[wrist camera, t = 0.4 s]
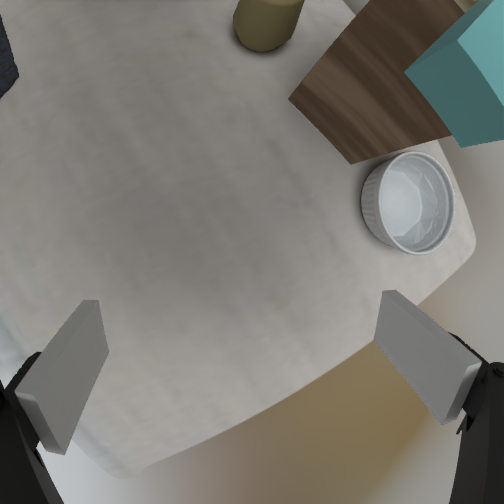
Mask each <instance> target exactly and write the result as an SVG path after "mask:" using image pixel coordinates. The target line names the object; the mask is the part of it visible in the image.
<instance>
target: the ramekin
mask: <svg viewBox="0 0 504 504" xmlns="http://www.w3.org/2000/svg"><path fill="white" fill-rule="evenodd" d="M361 206H362V213H363V217H364V220H365V222H366V224H367V226H368V227H369V229H370V231H371V232H372V233H373V235H374V236H376V237H377V238H378V239H379V240H381V241H382V242H384V243H386V244H388V245H390V246H392V247H395V248H396V249H398V250H400V251H402V252H404V253H407V254H412V255H425V254H428V253H431V252H433V251H435V250H436V249H438V248H439V247H440V246H441V245H442V244H443V243H444V242H445V240H446V239H447V237H448V235H449V234H450V231H451V229H452V226H453V223H454V218H455V211H456V201H455V193H454V189H453V185H452V182H451V180H450V177H449V175H448V173H447V172H446V170H445V169H444V167H443V166H442V165H441V164H440V163H439V162H438V161H437V160H436V159H435V158H434V157H432V156H431V155H429V154H427V153H424V152H420V151H408V152H403V153H400V154H397V155H395V156H394V157H392V158H391V159H390V160H388V161H387V162H385V163H383V164H381V165H380V166H378V167H377V168H376V169H374V170H373V171H372V172H371V173H370V175H369V177H368V178H367V180H366V182H365V184H364V187H363V190H362V197H361Z"/></svg>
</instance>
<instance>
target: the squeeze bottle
mask: <svg viewBox="0 0 504 504" xmlns="http://www.w3.org/2000/svg"><path fill="white" fill-rule="evenodd" d="M303 3H304V0H239V3H238V5H237V8H236V10H235V13H234V15H233V26H234V28H235V31H236V33H237V35H238V37H239V39H240V41H241V43H242V44H243V45H244V46H246V47H247V48H249V49H251V50H254V51H259V52H266V51H270V50H273V49H274V48H276V47H278V46H280V45H282V44H283V43H285V42H286V41H288V40H289V39H290V38H291V36H292V34H293V32H294V30H295V27H296V24H297V21H298V18H299V15H300V12H301V9H302V6H303Z"/></svg>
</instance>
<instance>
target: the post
mask: <svg viewBox="0 0 504 504" xmlns="http://www.w3.org/2000/svg"><path fill="white" fill-rule="evenodd" d="M477 1H478V0H370V1H369V2H368V3H367V4H366V5H365V6H364V8H363V9H362V10H361V11H360V12H359V13H358V14H357V16H356V17H355V18H354V19H353V20H352V21H351V23H350V24H349V25H348V26H347V27H346V28H345V29H344V31H343V32H342V33H341V34H340V35H339V37H338V38H337V39H336V40H335V41H334V43H333V44H332V45H331V46H330V47H329V49H328V50H327V51H326V52H325V53H324V55H323V56H322V57H321V58H320V59H319V61H318V62H317V63H316V64H315V66H314V67H313V68H312V69H311V71H310V72H309V73H308V74H307V76H306V77H305V78H304V79H303V81H302V82H301V83H300V84H299V86H298V87H297V88H296V90H295V91H294V92H293V93H292V95H291V96H290V97H289V99H288V100H289V101H290V102H291V103H292V104H294V105H295V106H296V107H297V108H298V109H299V110H300V111H301V112H302V113H303V114H304V115H305V116H306V117H307V118H308V119H309V120H310V121H311V122H312V123H313V124H314V125H315V126H316V127H317V128H318V129H319V130H320V132H321V133H322V134H323V135H324V136H325V137H326V138H327V139H328V140H329V141H330V142H331V143H332V144H333V145H334V146H335V147H336V149H337V150H338V151H339V152H340V153H341V154H342V155H343V156H344V157H345V158H346V159H347V161H348V162H349V163H350V164H354V163H357V162H360V161H364V160H367V159H370V158H373V157H377V156H380V155H383V154H387V153H390V152H393V151H397V150H400V149H404V148H407V147H411V146H414V145H418V144H421V143H425V142H429V141H432V140H436V139H439V138H443V137H447V136H451V135H452V134H451V132H450V131H449V129H448V128H447V126H446V125H445V124H444V122H443V121H442V119H441V118H440V117H439V115H438V114H437V113H436V111H435V110H434V109H433V107H432V106H431V105H430V103H429V102H428V101H427V100H426V98H425V97H424V96H423V95H422V93H421V92H420V91H419V90H418V88H417V87H416V86H415V85H414V84H413V82H412V81H411V80H410V79H409V78H408V77H407V75H406V74H405V73H404V72H405V71H406V70H407V69H408V68H409V67H410V66H411V65H412V64H413V63H414V62H415V61H416V60H417V59H418V58H419V57H420V56H421V55H422V54H423V53H424V52H425V51H426V50H427V49H428V48H429V47H430V46H431V45H432V44H433V43H434V42H435V41H436V40H437V39H438V38H440V37H441V36H442V35H443V34H444V33H445V32H446V31H447V30H448V29H449V28H450V27H451V26H452V25H453V24H454V23H455V22H456V21H457V20H458V19H459V18H460V17H461V16H463V15H464V14H465V13H466V12H467V11H468V10H469V9H470V8H471V7H472V6H473V5H474V4H475V3H476V2H477Z"/></svg>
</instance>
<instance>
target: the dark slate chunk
mask: <svg viewBox="0 0 504 504" xmlns="http://www.w3.org/2000/svg"><path fill="white" fill-rule="evenodd" d="M18 77H19V73H18V68H17V66H16V64H15V63H14V57H13V53H12V51H11V47H10V43H9V40H8V38H7V35H6V31H5V29H4V26H3V22H2V18H1V15H0V96H2V95H3V94H4V93H5V92H6V91H7V90H8V89H9V88H10V87H11V85H13V83H14V82H15V80H16V78H18Z"/></svg>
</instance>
